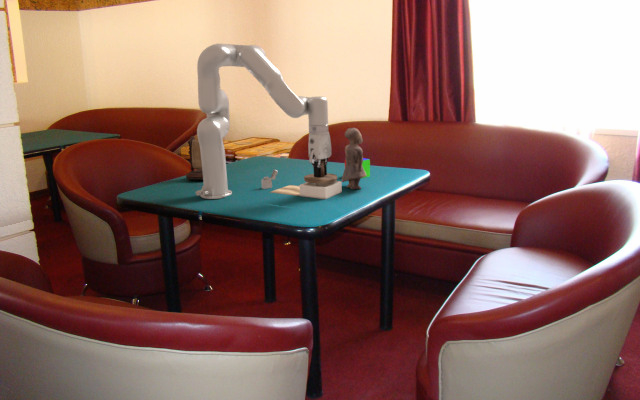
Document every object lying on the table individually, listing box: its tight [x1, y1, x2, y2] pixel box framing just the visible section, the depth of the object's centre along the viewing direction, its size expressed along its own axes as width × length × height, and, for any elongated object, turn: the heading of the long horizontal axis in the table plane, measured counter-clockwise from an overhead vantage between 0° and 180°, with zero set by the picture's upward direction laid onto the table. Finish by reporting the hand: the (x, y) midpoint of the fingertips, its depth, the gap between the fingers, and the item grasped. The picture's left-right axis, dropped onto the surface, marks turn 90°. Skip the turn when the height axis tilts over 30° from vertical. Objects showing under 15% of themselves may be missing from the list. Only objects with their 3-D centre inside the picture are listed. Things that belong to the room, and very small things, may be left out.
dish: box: [298, 180, 343, 200], centre depth 223 cm, size 12×12×5 cm
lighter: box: [260, 169, 279, 190], centre depth 237 cm, size 7×2×8 cm, turn 116°
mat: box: [270, 184, 300, 197], centre depth 231 cm, size 14×14×1 cm
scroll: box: [185, 135, 203, 182], centre depth 260 cm, size 15×15×20 cm
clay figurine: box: [341, 127, 367, 190], centre depth 230 cm, size 13×10×25 cm
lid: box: [303, 161, 338, 183], centre depth 221 cm, size 13×13×7 cm
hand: (320, 175), depth 221 cm, fingers closed on lid, 3 cm apart
